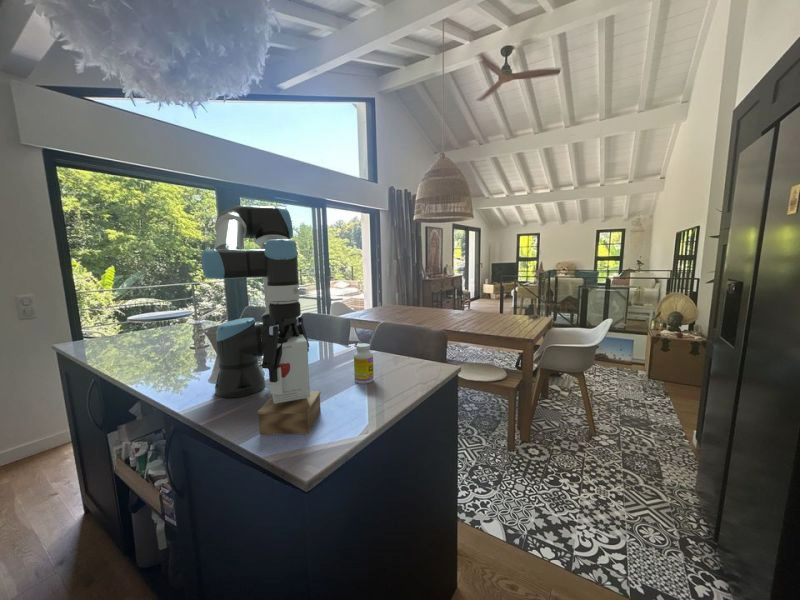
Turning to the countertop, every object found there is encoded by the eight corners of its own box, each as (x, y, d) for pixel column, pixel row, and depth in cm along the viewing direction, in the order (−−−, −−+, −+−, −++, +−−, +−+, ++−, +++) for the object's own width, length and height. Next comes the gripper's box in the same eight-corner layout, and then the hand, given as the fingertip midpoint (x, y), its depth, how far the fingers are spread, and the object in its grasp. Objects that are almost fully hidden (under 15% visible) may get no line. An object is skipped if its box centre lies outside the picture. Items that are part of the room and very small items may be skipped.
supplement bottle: (370, 384, 115) (369, 347, 113) (352, 383, 116) (350, 347, 114) (376, 377, 121) (374, 342, 120) (358, 377, 122) (356, 342, 121)
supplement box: (273, 404, 83) (268, 344, 81) (271, 391, 91) (267, 337, 89) (311, 398, 86) (307, 340, 84) (305, 386, 94) (302, 333, 92)
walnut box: (259, 434, 83) (257, 411, 83) (277, 412, 96) (276, 391, 95) (309, 434, 83) (307, 410, 82) (321, 411, 95) (320, 391, 95)
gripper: (271, 309, 73) (277, 404, 76) (318, 296, 96) (322, 369, 99) (240, 308, 74) (247, 402, 77) (294, 296, 98) (298, 368, 101)
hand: (289, 384), depth 88 cm, fingers closed on supplement box, 12 cm apart
